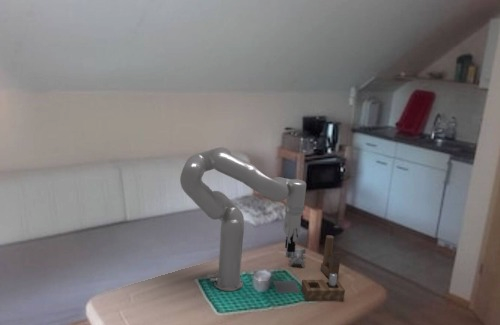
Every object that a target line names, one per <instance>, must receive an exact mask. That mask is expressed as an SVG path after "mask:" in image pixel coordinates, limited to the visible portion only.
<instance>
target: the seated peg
mask: <svg viewBox="0 0 500 325" xmlns="http://www.w3.org/2000/svg"><path fill="white" fill-rule="evenodd" d="M328 280H329V286H328V287H329V288H336V281H337V274H336V273H330V278H328Z"/></svg>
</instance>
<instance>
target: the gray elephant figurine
mask: <svg viewBox="0 0 500 325" xmlns="http://www.w3.org/2000/svg"><path fill="white" fill-rule="evenodd" d="M306 250H307V249H306V248H300V247H295V252H293V257H292V258H290V260H289V263H288V266H289V267H292V266H293V265H294V264H296V265H301V268H302V269H304V268H306V265H305V263H306V262H305V260H304V259H306V255H305V254H306V252H307V251H306Z"/></svg>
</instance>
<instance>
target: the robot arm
mask: <svg viewBox="0 0 500 325" xmlns="http://www.w3.org/2000/svg"><path fill="white" fill-rule="evenodd" d="M181 170H182V171H181V174H180V186H181V189H182V190H183V191H184V193H185V194H186V195H187V196H188V197H189V198H190V199H191V200H192V201H193V202H194V204H196V206H197V207H199V209H200V210H201V211H202V212H203V213H204V214H205V215H206V216H207V217H208V218H210V219H211V220H219V221H221V224H220V235H219V236H220V240H219V255H218V256H219V257H218V270H217V271H216V273H214V274H208V273H207V275H206V279H207V280H210V282H213V285H214V287H215V288H217V289H219V290H221V291H223V292H224V291H225V292H235V291H238V290H240V289H242V288H243V286H244V281H243V279H242V278H241V269H242V268H241V267H242V265H241V264H242V254H243V245H244V244H243V242H244V232H245V220H244V214H243V213H242V211H241V209H240V208H238V206H237V205H235V203H234V202H233V201H232V200H231V199H230V198H229V197H228V196H227V195H226V194H225V193H224V192H222V191H218V190H212V189H211V188H210V186H208V185H207V184H206V183H204V182H203V180H202V178H203V176H204V174H205V172H208V171H212V170H215V171H217V172H218V173H220V174H223V175H226V176H228V177H230V178H232V179H234V180H235V181H238V182H240V183H243V184H244V185H245V186H247V187H248V188H250V189H252V190H254V192H256V193H258V194H260V195H262V196H264V197H266V198H269V199H271V200H272V201H276V202H283V201H285V200H286V201H285V210H284V211H285V215H284V219H283V220H284V221H283V228H282V230H283V232H284V234H285V237H286V239H285V244H284V246H285V247H284V248H285V249H287V252H295V248H296V243H297V241H298V239H297V238H299V237H300V232H301V223H302V222H301V220H302V215H303V214H304V209H305V208H304V207H305V201H306V200H305V198H306V192H307V191H306V190H307V183H306V181H305V180H302V179H296V178H292V179H290V178H286V177H285V178H284V177H282V176H281V177H280V176H276V177H272V178H271V177H269V176H267V175H265V174H264V173H262V171H260V170H259V168H257V167H256V166H255V165H254V164H252V163H251V162H249V161H246V160H244V159H242V158H240V157H238V156H236V155H234V154H232V153H231V151H230V150H229V149H228V148H227V147H223V146H221V147H220V146H219V147H216V148H211V149H209V150H205V151H202V152H198V153H196V154H193V155H191V156H190V157H188V158H187V160H186V162H184V166H183V167H182V169H181ZM292 235H293V236H292ZM288 238H289V243H288V247H287V240H288ZM291 238H293V239H291Z"/></svg>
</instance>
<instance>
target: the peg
mask: <svg viewBox="0 0 500 325" xmlns="http://www.w3.org/2000/svg"><path fill="white" fill-rule="evenodd" d="M292 236H293V235H292ZM291 239H293V238H291ZM288 243H289V238H288V240H287V247H288ZM285 250H286V251H285V257H286V258H288V259H291V258H292V257H293V252H287V248H285Z"/></svg>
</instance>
